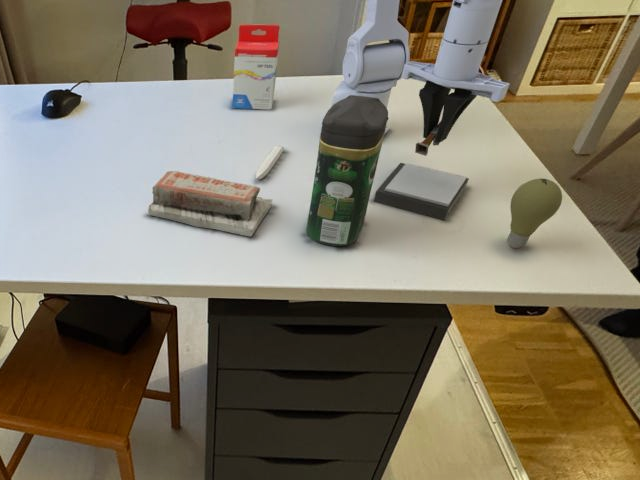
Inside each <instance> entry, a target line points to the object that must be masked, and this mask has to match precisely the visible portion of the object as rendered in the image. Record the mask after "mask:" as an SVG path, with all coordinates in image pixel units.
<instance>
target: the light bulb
mask: <svg viewBox="0 0 640 480" xmlns="http://www.w3.org/2000/svg"><path fill="white" fill-rule="evenodd" d="M562 202H563V193H562V190H561V188H560V186H559V185H558V184H557V183H556V182H554V181H553V180H551V179H548V178H543V177H542V178H534V179H531V180H528V181H526V182H524V183H522V184H521V185H520V186H519V187H518V188H517V189H516V190H515V191H514V193H513V194H512V196H511V199H510V205H509V206H510V207H509V208H510V215H511V216H510V217H511V219H510V220H511V221H510V232H509V234H508V236H507V238H506V242H507V244H508V245H509V247H511V248H512V249H519V248H524V247H525V246H526V245H527V243H528V241H529V239H530V237H531V236H532V235H533V234H534V233H535V232H536V231H537V229H538V228H540V226H542V225H543V224H544V223H545V222H547V221H548V220H550V219H551V218H552V217H553V216H554V215H556V213H557V212H558V211H559V209H560V207H561V205H562Z"/></svg>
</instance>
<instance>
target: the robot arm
mask: <svg viewBox="0 0 640 480" xmlns="http://www.w3.org/2000/svg"><path fill="white" fill-rule="evenodd" d="M502 3H503V0H452V3H451V7H450V9H449V14H448V17H447V21H446V25H445V28H444V32H443V35H442V38H441V42H440V44H439V45H440V46H439V49H438V53H437V56H436V59H435V60H436V61H435V63H429V62H428V63H427V62H419V61H413V60H411V53H410V47H409V40H410V39H409V38H410V32H409V31H408V30H407V29H406V28H405V27H404V26H403V25H402V24H401V23H400V22H399V21H398V17H399V9H400V0H366V5H365V18H364V23H363V24H362V25H361V26H360V27H359V28H358V29H357V30H356V31H355V32H353V34H351V35H350V36H349V37H348V39H347V43H346V49H345V54H344V57H343V60H342V77H343V80H341V81H340V82H339V84H338V85H337V87H336V89H335V92H334V94H333V98H332V103H331V107H332V106H333V105H334V104H335V103H337V102H338V101H340V100H342V99H345V98H347V97H348V96H349V95H356V96H365V97H373V98H378V99H379V100H380V101H381V102H382V103H383V104H384V105H385V107H386V108H387V109H388V105H389V102H390V97H391V92H392V88H395V87H397V84H398V83H397V82H398V81H401V79H403V80H409V79H410V80H415V81H419V82H422V83H425V84H424V85H423V87H422V88H421V89H419V91H418V92H419V93H418V98H419V100H420V102H421V108H422V116H423V132H422V133H423V135H422V138H424V139H426V138H427V137H428V136H429V135H430V132H431V131H432V130H433V129H434V127H436V125H437V124H439V123H440V122H441V123H440V126H439V129H438V132H437V135H436V140H435V141H436V142H439V144H440V143H441V142H442V141H443V142H444V141H445V140H447V138H448V136H449V134H450V132H451V130H452V129H453V127H454V125H455V124H456V122H457V121H458V120H459V118H460V117H461V115H462V114H463V113H464V111H465V110H467V108H468V107H469V105H470V104H471V103H472V102H473V101H474V100H475V99H476V98H477V96H479V97H482V98H486V99H490V102H494V103H500V102H501V101H502V100H504V99H505V98H506V95H507V92H508V90H509V87H510V85H511V83H509V82H505V81H502V80H499V79H496V78H493V77H491V76H489V75H486V74H484V73H481V72H480V68H481V65H482V62H483V59H484V56H485V53H486V50H487V47H488V44H489V42H490V38H491V36H492V32H493V30H494V27H495V24H496V20H497V18H498V14H499V12H500V9H501V6H502ZM385 41H388V42H385ZM375 42H376V43H375ZM377 42H380V43H377ZM381 42H382V43H381ZM371 43H375V44H371ZM410 60H411V61H410ZM452 90H453V92H451V91H452ZM441 114H442V115H441ZM440 118H441V119H440ZM389 130H390V129H389V127H387V126H386V129H385V133H384V135H386V133H388V131H389Z"/></svg>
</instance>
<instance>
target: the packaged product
mask: <svg viewBox="0 0 640 480" xmlns="http://www.w3.org/2000/svg"><path fill="white" fill-rule="evenodd" d="M260 191H261V188H260V187H259V186H255V185H250V184H246V183H245V184H244V183H240V182H235V181H228V180H224V179H223V180H222V179H217V178H213V177H209V176H208V177H207V176H203V175H199V174H193V173H187V172H181V171H179V170H178V171H177V170H170V171H169V170H168V171H166V172H165V174H164V175H163V176H162V177H161V178H159V180H157V182H155V184H154V185H153V186H152V194H153V196H152V202H151V203H150V204H149V205H148V208H147V214H148V216H152V217H158V218H162V219H167V220H170V221H173V222H179V223H183V224H186V225H189V226H193V227H197V228H202V229H211V230H212V229H213V230H217V231H221V232H222V231H223V232H227V233H232V234H236V235H241V236H245V237H250V238H252V236H253V234H254V233H255V232H256V230H257V229H258V228H259V226H260V224H261V223H262V221H263V220H264V218H265V217H266V215H267V214H268V213H269V210H270V209H271V207H272V204H273V199H271V198H263V197H261V196H258V195H259V194H260Z"/></svg>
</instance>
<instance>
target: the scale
mask: <svg viewBox="0 0 640 480" xmlns="http://www.w3.org/2000/svg"><path fill="white" fill-rule="evenodd" d="M469 179H470V178H469V177H468V176H465V175H461V174H457V173H452V172H448V171H443V170H439V169H436V168H435V169H434V168H430V167H427V166H422V165H417V164H412V163H409V162H406V163H404V162H400V163H399V164H398V165H397V166H396V167H395V168H394V170H393V171H392V172H391V173H390V174H389V176H388V177H387V178H386V179H385V180H384V181H383V183H382V184H380V186H379V187H378V189H377V190H375V194H374V198H373V202H376V203H380V204H383V205H387V206H390V207H395V208H397V209H402V210H406V211H409V212H414V213H416V214H421V215H424V216H428V217H432V218H436V219H440V220H444V221H445V220H446V219H447V217H448V216H449V214H450V213H451V211H452V210H453V208H454V207H455V205H456V203H458V201H459V199H460V198H461V196H462V194H463V193H464V191H465V190H466V187H467V185H468V183H469Z"/></svg>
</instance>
